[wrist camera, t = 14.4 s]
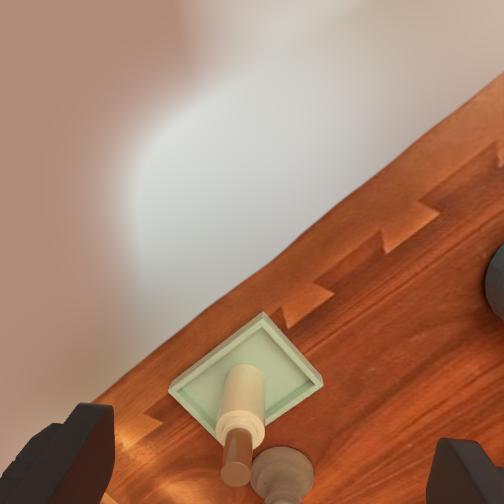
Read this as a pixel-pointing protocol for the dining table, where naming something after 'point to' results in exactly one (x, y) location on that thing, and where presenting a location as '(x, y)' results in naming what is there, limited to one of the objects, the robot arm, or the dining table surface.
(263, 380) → the stoneware bottle
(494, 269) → the bowl
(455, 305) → the dining table surface
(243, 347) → the tray
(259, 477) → the candle holder
